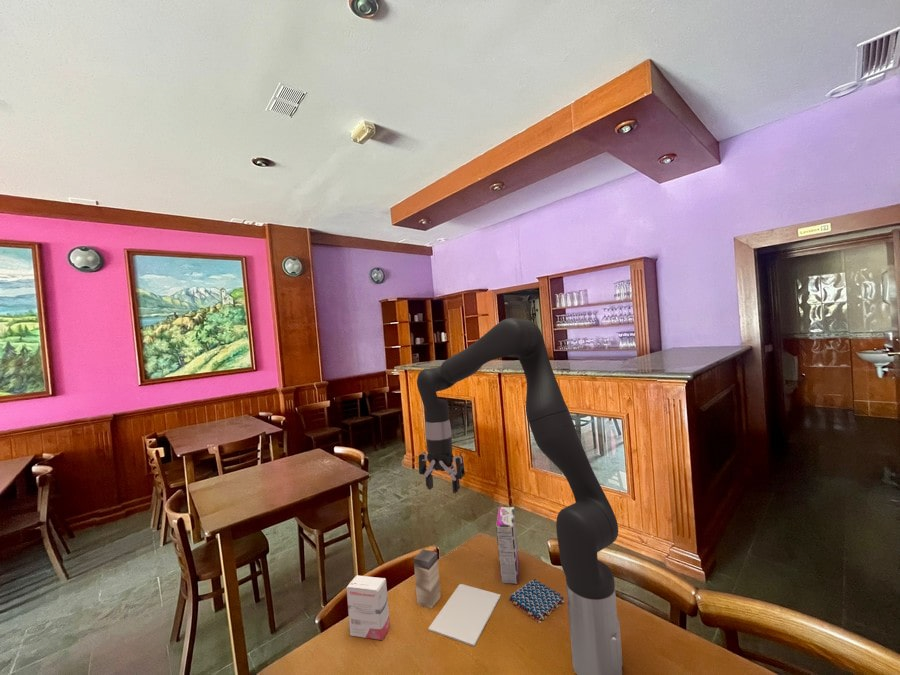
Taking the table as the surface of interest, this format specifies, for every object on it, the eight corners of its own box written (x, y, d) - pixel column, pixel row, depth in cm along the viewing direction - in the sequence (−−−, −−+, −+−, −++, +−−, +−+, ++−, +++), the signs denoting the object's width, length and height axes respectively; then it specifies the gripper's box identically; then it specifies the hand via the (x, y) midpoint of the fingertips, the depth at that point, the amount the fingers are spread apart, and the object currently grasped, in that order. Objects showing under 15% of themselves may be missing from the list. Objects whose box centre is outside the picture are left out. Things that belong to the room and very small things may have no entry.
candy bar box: (502, 559, 112) (498, 506, 112) (519, 560, 111) (514, 506, 111) (500, 584, 101) (495, 524, 101) (518, 585, 100) (513, 525, 100)
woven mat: (506, 603, 94) (506, 595, 94) (533, 584, 101) (533, 576, 101) (539, 626, 86) (538, 618, 86) (566, 604, 92) (565, 596, 92)
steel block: (440, 597, 98) (437, 552, 98) (431, 609, 94) (428, 562, 94) (426, 593, 100) (422, 549, 100) (417, 604, 96) (413, 558, 96)
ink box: (391, 625, 89) (387, 577, 89) (382, 641, 85) (378, 590, 85) (359, 620, 92) (356, 573, 92) (349, 636, 87) (345, 586, 87)
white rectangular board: (500, 596, 96) (500, 594, 96) (474, 646, 81) (474, 644, 81) (460, 585, 102) (460, 583, 102) (428, 630, 87) (428, 628, 87)
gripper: (465, 433, 108) (470, 488, 108) (424, 430, 114) (428, 482, 114) (454, 440, 101) (458, 499, 101) (411, 437, 108) (415, 492, 108)
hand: (442, 490), depth 108 cm, fingers open, 8 cm apart
